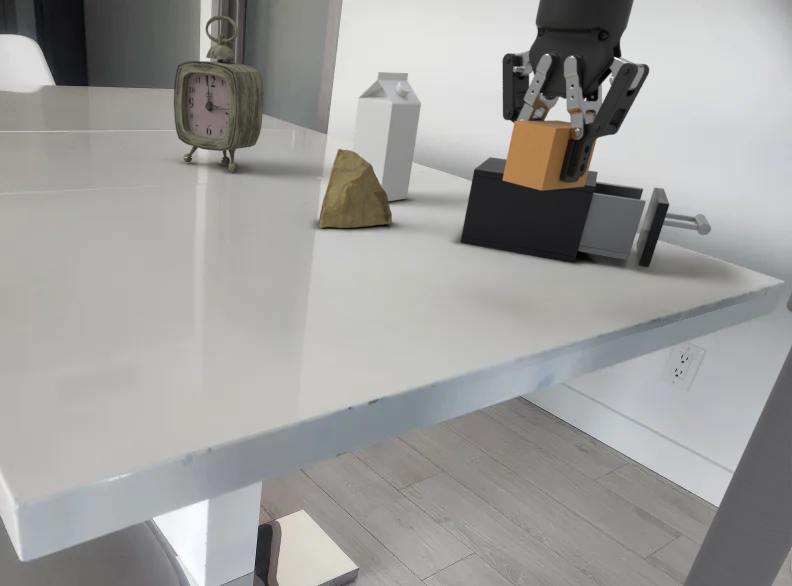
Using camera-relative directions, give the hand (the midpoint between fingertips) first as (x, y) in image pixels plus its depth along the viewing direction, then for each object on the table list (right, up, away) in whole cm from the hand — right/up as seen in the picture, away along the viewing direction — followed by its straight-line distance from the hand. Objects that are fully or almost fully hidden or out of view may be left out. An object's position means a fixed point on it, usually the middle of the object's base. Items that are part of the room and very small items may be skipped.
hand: (545, 175), depth 64 cm
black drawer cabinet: (+8, -1, +29) cm, 30 cm away
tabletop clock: (-38, +20, +62) cm, 76 cm away
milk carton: (-10, +10, +48) cm, 50 cm away
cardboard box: (0, -1, 0) cm, 1 cm away
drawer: (+18, -3, +25) cm, 31 cm away
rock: (-15, +2, +30) cm, 34 cm away
